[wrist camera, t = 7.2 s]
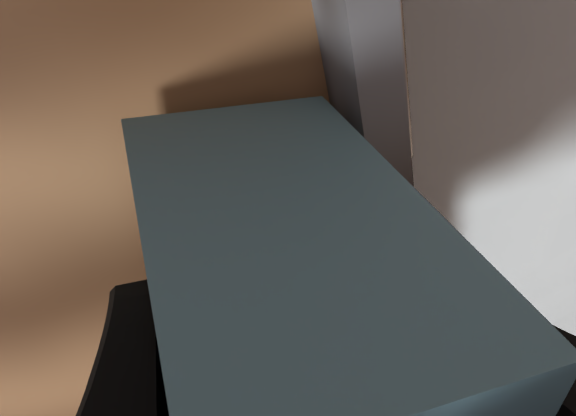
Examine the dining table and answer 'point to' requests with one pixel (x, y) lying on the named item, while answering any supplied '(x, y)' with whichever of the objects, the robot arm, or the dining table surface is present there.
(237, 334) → the carton
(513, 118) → the dining table surface
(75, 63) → the price rail shelf
